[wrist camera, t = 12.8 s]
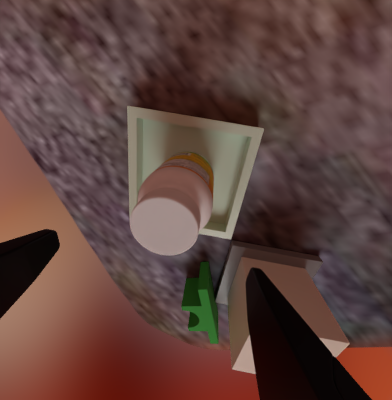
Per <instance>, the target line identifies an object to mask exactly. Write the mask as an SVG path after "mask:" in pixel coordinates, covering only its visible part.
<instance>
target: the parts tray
mask: <svg viewBox="0 0 392 400" xmlns="http://www.w3.org/2000/svg"><path fill="white" fill-rule="evenodd" d="M127 115H128V165H129V214H130V216H131V213H132V210H133V209H134V207H135V206H136V205H137V203H138V193H139V190H140V187H141V185H142V184H143V182H144V181H145V180H146V178H147V177H148V176H149V175H150V174H151V173H153V172H154V171H155V170H156V169H157V168H158V167H159V166H161V165H162V164H163V163H164V162H165V161H166V160H167V159H168V158H170V157H171V156H172V155H174V154H176V153H178V152H182V151H191V152H195V153H198V154H200V155H201V156H203V157H204V158H205V159H206V160H207V161H208V162H209V164H210V165H211V167H212V170H213V174H214V188H213V208H212V214H211V217H210V219H209V221H208V223H207V224H206V225H205V226H204V228H203V229H201V230H200V231H199V234H204V235H209V236H215V237H220V238H226V239H231V238H232V235H233V231H234V228H235V225H236V221H237V218H238V215H239V211H240V208H241V205H242V201H243V198H244V195H245V191H246V188H247V185H248V181H249V178H250V175H251V171H252V168H253V165H254V161H255V158H256V154H257V151H258V148H259V144H260V141H261V138H262V134H263V131H264V129H263V128H259V127H254V126H248V125H242V124H236V123H230V122H224V121H218V120H212V119H206V118H200V117H194V116H188V115H182V114H176V113H170V112H164V111H159V110H153V109H147V108H141V107H134V106H127Z"/></svg>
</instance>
